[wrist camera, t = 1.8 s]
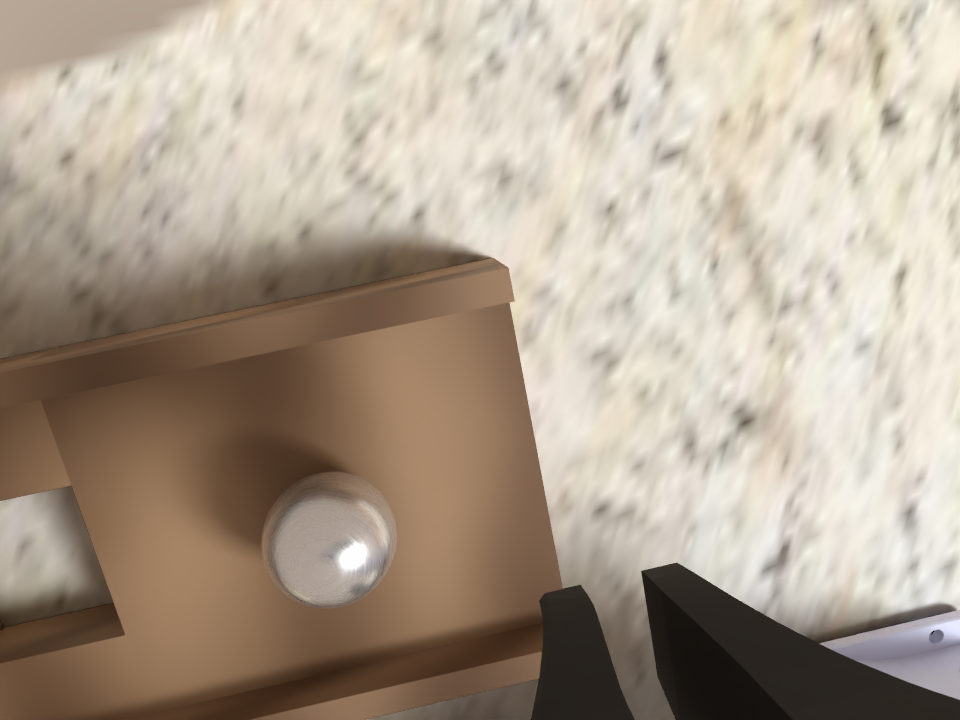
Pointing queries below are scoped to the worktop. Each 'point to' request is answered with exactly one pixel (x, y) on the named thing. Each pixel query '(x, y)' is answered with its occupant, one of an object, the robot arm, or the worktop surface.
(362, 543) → the ball
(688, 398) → the worktop surface
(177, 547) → the board
